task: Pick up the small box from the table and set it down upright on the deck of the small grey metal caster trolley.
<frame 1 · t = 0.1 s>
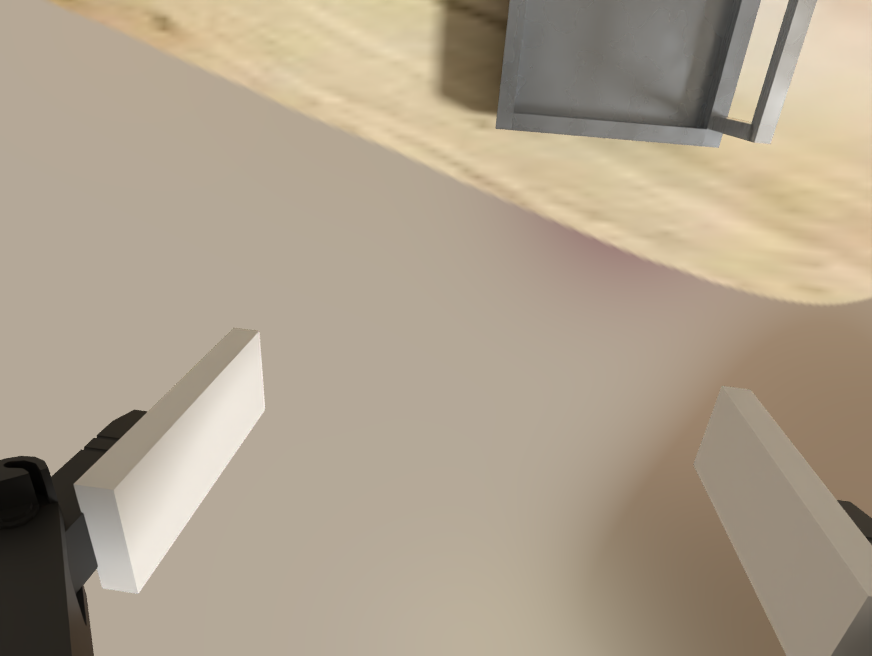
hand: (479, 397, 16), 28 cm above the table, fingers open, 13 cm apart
trolley: (617, 16, 35), on the table
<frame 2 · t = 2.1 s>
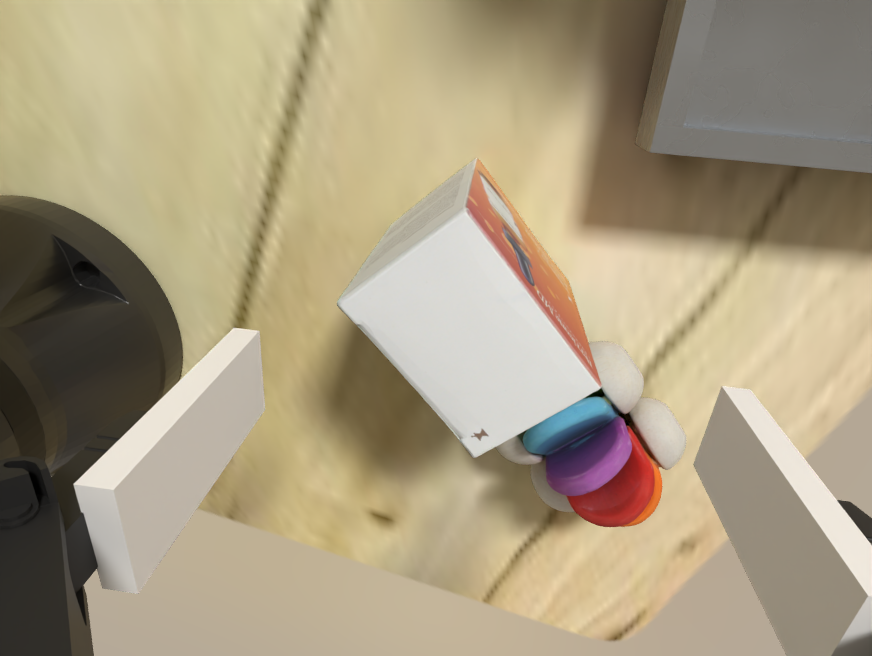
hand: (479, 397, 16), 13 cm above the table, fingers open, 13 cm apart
rainbow segmented toy: (578, 406, 31), on the table
small box: (479, 251, 28), on the table
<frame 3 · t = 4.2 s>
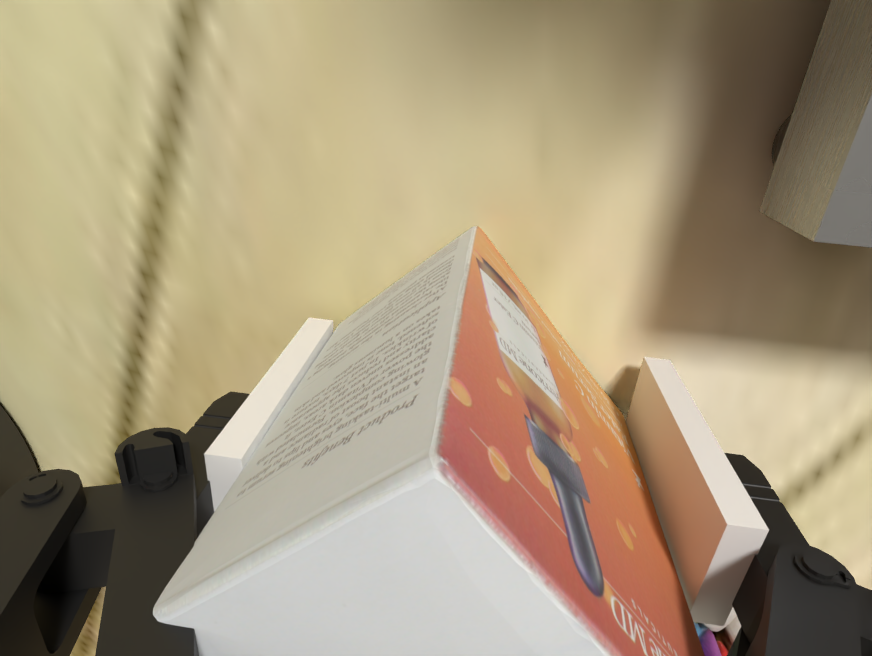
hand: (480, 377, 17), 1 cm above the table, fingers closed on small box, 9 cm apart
rainbow segmented toy: (629, 575, 21), on the table
small box: (481, 364, 17), on the table, touching gripper
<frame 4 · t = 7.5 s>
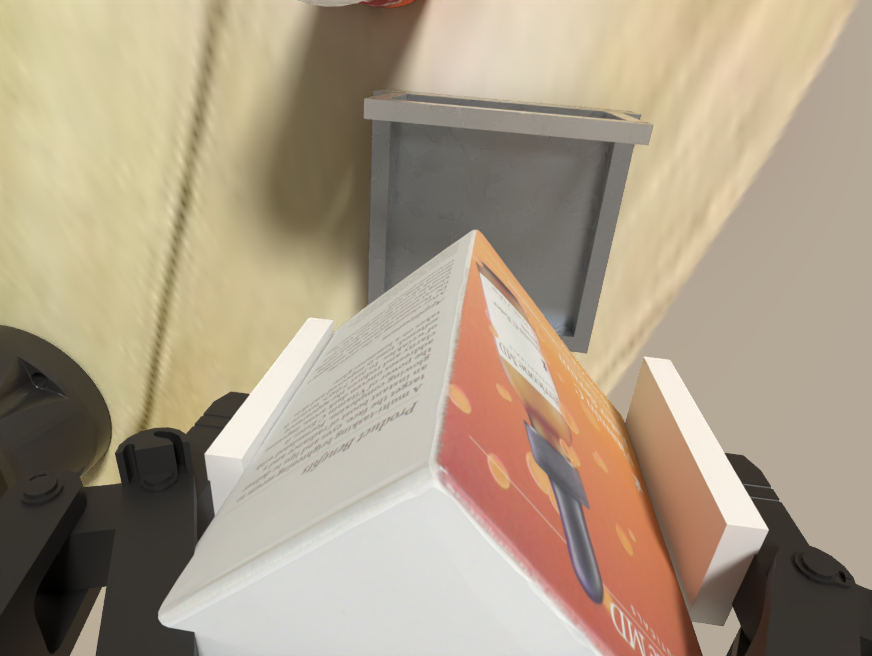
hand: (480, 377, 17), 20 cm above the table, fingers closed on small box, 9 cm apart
trolley: (490, 216, 35), on the table
small box: (480, 367, 17), point 20 cm above the table, touching gripper
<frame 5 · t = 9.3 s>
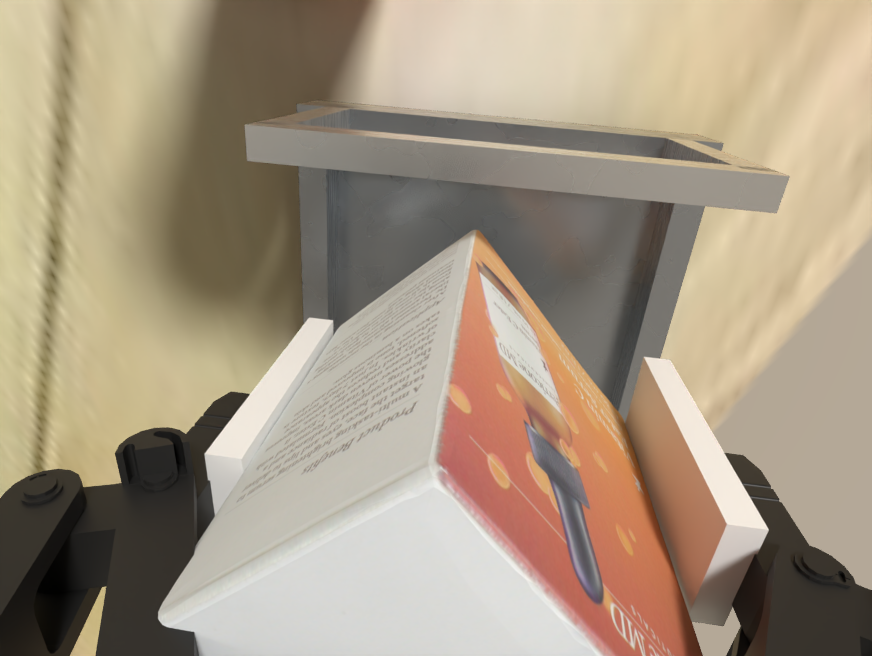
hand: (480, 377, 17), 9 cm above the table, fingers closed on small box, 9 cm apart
trolley: (483, 280, 24), on the table
small box: (481, 367, 17), point 8 cm above the table, touching gripper
when the fingers open (5 cm above the table, at t = 11.1 s): small box drops 2 cm, resting on trolley.
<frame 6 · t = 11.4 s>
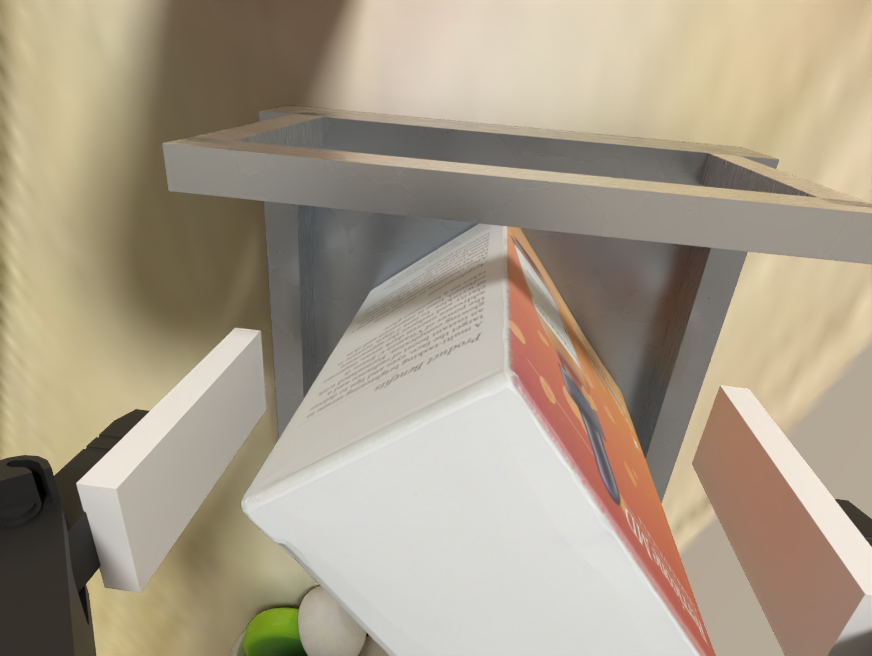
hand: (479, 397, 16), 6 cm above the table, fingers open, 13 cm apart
trolley: (484, 311, 21), on the table
rainbow segmented toy: (335, 628, 31), on the table
small box: (496, 337, 19), point 2 cm above the table, touching trolley
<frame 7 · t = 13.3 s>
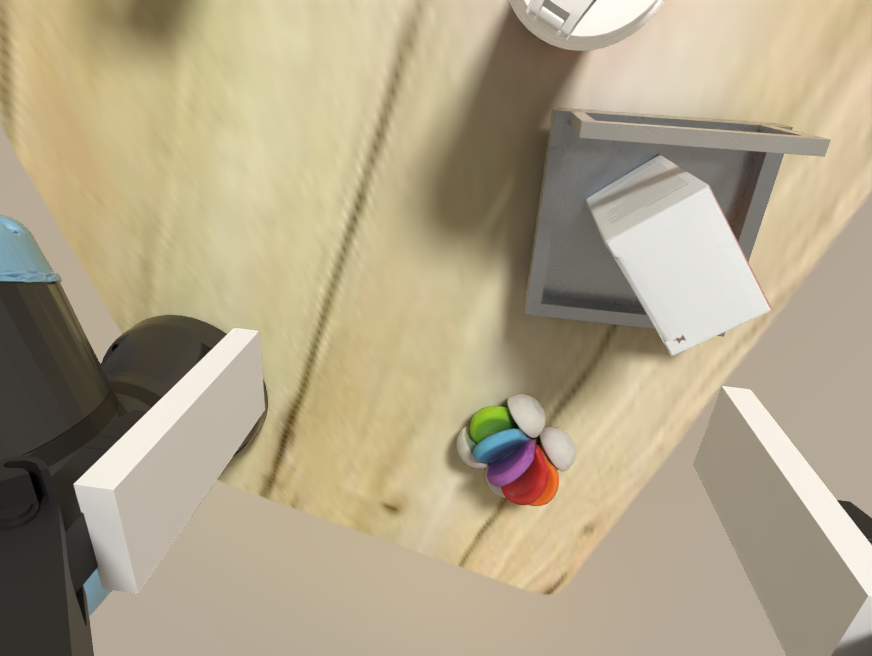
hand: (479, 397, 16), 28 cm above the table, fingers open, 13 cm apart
trolley: (633, 216, 40), on the table
rainbow segmented toy: (514, 432, 50), on the table
small box: (647, 224, 38), point 2 cm above the table, touching trolley
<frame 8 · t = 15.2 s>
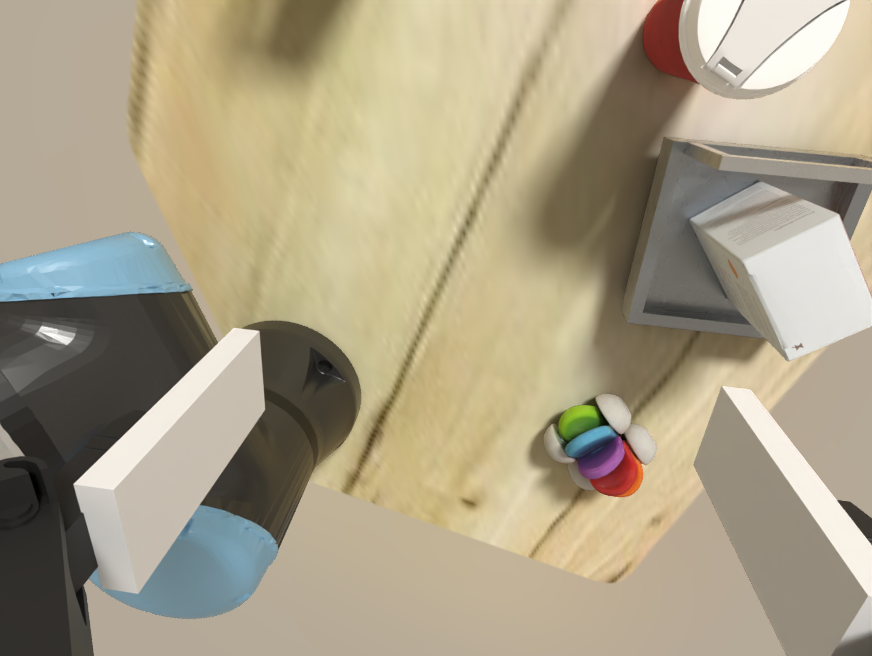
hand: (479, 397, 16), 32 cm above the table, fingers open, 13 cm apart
trolley: (724, 233, 44), on the table
rainbow segmented toy: (595, 429, 54), on the table
small box: (742, 242, 42), point 2 cm above the table, touching trolley
paper cup: (683, 30, 38), on the table
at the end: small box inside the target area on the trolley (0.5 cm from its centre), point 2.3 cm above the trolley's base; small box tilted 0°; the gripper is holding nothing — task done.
